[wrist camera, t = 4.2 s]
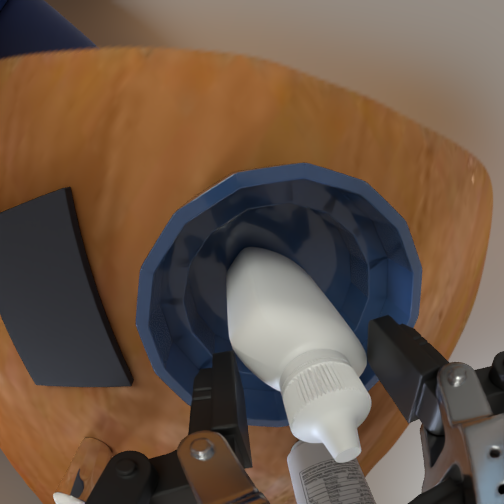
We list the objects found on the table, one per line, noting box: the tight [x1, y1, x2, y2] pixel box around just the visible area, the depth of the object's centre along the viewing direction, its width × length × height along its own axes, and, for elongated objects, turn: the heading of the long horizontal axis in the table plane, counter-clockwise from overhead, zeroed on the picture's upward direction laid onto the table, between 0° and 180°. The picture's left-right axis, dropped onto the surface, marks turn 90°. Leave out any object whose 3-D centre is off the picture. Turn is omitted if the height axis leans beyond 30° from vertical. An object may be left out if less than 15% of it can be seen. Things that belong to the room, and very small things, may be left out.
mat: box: [0, 187, 134, 387], centre depth 16 cm, size 14×10×1 cm
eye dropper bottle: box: [226, 247, 372, 463], centre depth 11 cm, size 4×6×12 cm
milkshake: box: [53, 437, 112, 504], centre depth 16 cm, size 4×5×10 cm
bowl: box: [136, 163, 422, 427], centre depth 15 cm, size 13×13×6 cm
